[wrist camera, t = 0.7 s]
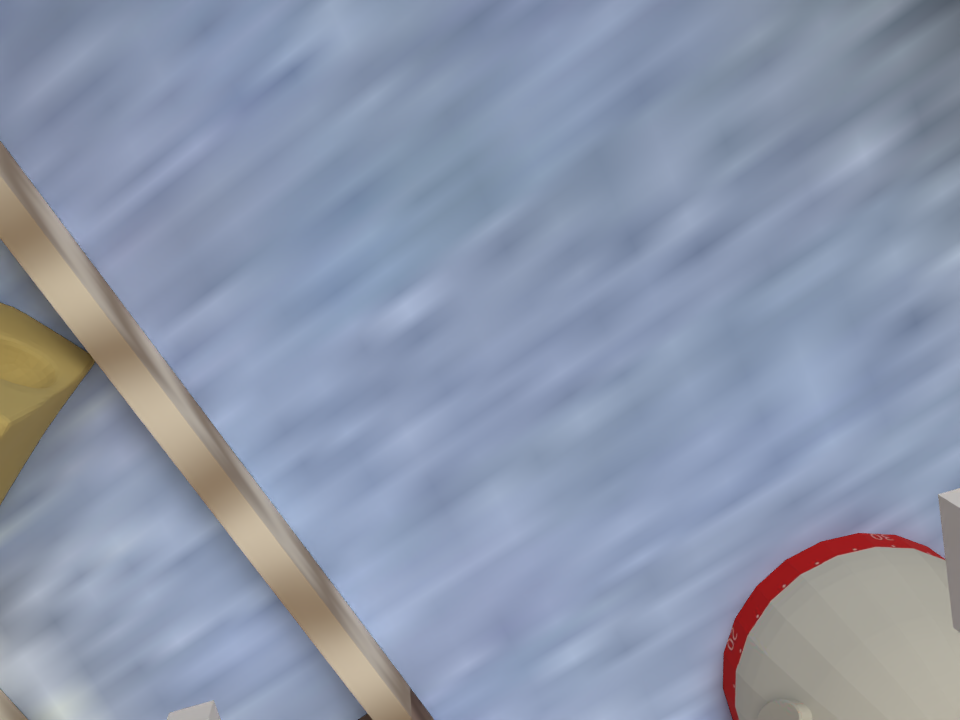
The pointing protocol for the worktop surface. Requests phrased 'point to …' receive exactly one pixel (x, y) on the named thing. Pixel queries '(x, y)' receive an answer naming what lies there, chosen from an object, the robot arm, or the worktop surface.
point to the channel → (194, 449)
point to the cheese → (32, 386)
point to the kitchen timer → (847, 636)
